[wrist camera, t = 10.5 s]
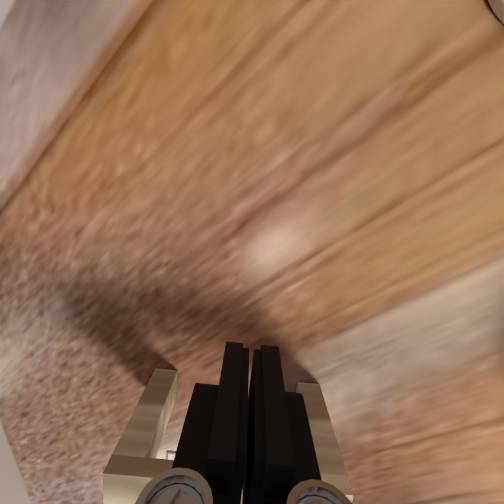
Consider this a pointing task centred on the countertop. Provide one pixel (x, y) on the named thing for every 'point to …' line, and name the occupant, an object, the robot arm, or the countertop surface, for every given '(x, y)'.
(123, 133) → the countertop surface
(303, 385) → the bridge
